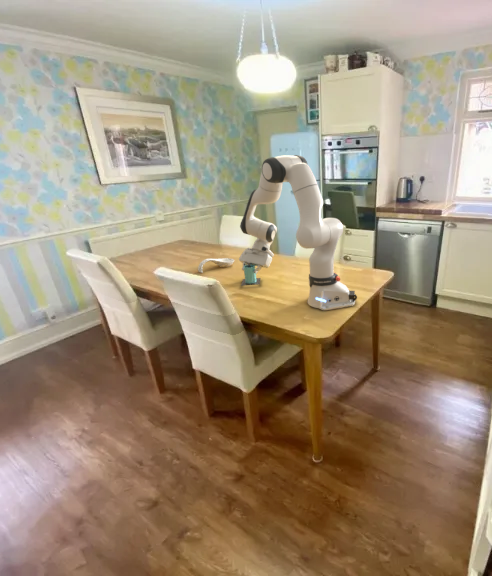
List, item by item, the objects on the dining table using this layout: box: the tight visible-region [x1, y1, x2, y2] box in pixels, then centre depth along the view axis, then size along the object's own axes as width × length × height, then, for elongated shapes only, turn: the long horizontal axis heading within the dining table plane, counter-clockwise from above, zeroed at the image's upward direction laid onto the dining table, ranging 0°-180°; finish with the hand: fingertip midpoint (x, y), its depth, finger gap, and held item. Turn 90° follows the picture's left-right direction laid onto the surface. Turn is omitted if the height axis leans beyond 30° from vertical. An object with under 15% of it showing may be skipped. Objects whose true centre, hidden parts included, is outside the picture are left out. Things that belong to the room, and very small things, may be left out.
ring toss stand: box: [240, 262, 262, 286], centre depth 174 cm, size 10×10×12 cm
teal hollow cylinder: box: [243, 264, 257, 284], centre depth 174 cm, size 6×6×9 cm
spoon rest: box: [197, 257, 235, 274], centre depth 202 cm, size 24×12×7 cm, turn 136°
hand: (249, 271), depth 173 cm, fingers open, 7 cm apart
